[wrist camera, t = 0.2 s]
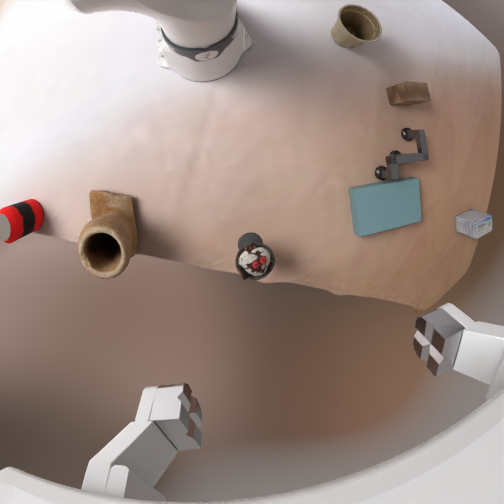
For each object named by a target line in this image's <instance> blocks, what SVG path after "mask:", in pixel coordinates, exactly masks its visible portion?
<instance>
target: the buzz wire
mask: <svg viewBox="0 0 504 504" xmlns="http://www.w3.org/2000/svg"><path fill="white" fill-rule="evenodd" d="M401 134H402V137H403V139H404V140H406V141H410V140H412V139H413V138H414V137H416V142H417V149H418V153H412V154H401V153H400V152H399V151H392V152H391V153H390V156H387V157H386V163H387V169H386V168H385V167H384V166H379V167H377V168H376V170H375V175H376V177H377V178H378V179H380V180H385V179H386V178H387V179H392V180H393V179H399V175H398V167H397V164H400V163H407V162H415V161H423V160H429V159H428V152H427V145H426V138H425V132H424V130H411V129H410V128H404V129H403V130H402V132H401Z"/></svg>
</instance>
